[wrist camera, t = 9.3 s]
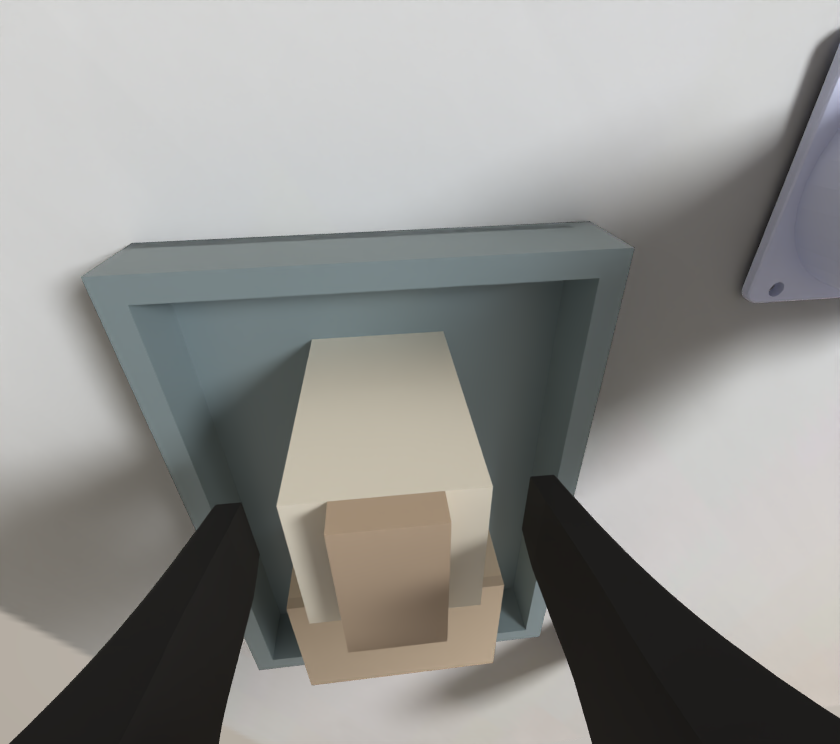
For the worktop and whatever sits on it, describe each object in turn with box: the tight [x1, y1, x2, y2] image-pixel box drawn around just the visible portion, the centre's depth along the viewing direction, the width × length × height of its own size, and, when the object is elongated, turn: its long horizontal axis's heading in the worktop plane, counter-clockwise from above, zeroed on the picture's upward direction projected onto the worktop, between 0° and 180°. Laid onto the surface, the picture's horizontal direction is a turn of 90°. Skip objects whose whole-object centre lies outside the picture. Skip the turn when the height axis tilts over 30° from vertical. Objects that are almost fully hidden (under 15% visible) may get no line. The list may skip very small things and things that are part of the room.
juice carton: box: [276, 331, 493, 653], centre depth 13 cm, size 4×4×8 cm
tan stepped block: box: [287, 529, 504, 685], centre depth 20 cm, size 8×6×4 cm
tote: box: [81, 221, 634, 670], centre depth 18 cm, size 14×20×3 cm
